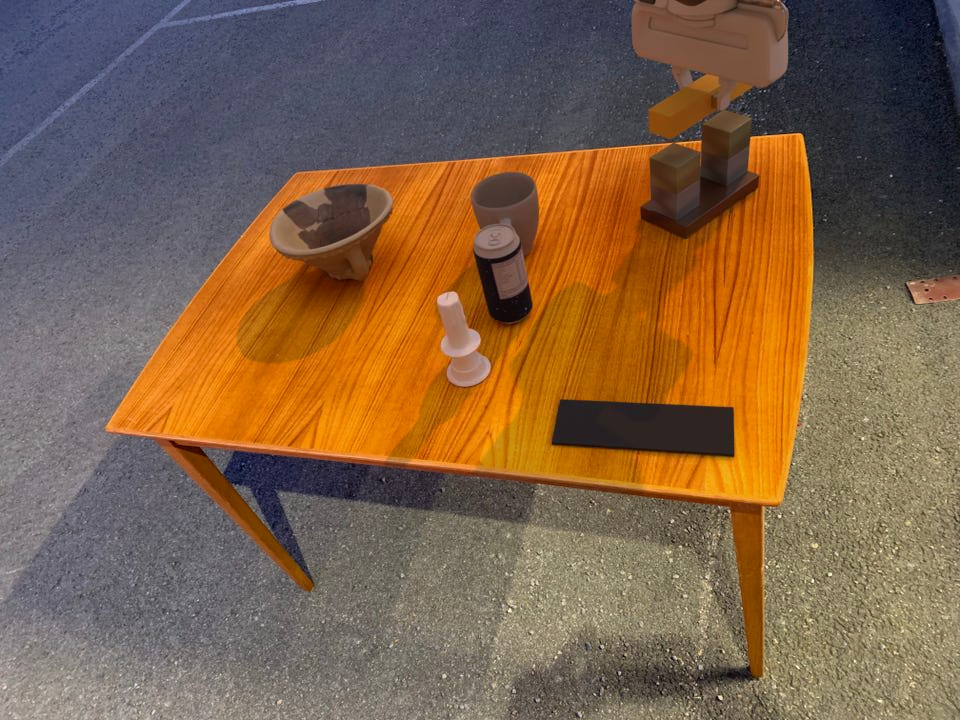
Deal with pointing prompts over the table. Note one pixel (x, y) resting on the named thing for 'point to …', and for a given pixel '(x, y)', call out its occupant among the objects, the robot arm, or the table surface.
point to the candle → (461, 344)
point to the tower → (701, 176)
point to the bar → (688, 106)
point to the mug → (508, 205)
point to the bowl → (333, 228)
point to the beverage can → (503, 273)
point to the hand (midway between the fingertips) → (703, 103)
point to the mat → (645, 427)
